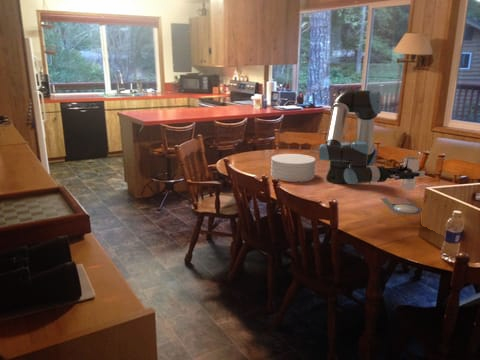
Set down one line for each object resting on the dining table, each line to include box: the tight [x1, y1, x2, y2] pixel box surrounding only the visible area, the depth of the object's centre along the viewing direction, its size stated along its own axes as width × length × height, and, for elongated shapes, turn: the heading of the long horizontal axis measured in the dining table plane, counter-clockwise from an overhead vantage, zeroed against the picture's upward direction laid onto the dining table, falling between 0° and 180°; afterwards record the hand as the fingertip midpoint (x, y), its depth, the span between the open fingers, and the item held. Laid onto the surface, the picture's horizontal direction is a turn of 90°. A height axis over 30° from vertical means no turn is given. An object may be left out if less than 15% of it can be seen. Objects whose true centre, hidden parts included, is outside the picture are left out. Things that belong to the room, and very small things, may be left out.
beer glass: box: [401, 156, 420, 191], centre depth 200 cm, size 7×7×15 cm
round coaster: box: [394, 204, 418, 215], centre depth 205 cm, size 11×11×1 cm
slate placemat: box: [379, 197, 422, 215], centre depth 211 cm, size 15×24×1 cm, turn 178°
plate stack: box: [270, 153, 316, 183], centre depth 266 cm, size 28×28×12 cm
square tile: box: [384, 196, 411, 205], centre depth 216 cm, size 10×10×1 cm
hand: (419, 171), depth 201 cm, fingers closed on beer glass, 6 cm apart
